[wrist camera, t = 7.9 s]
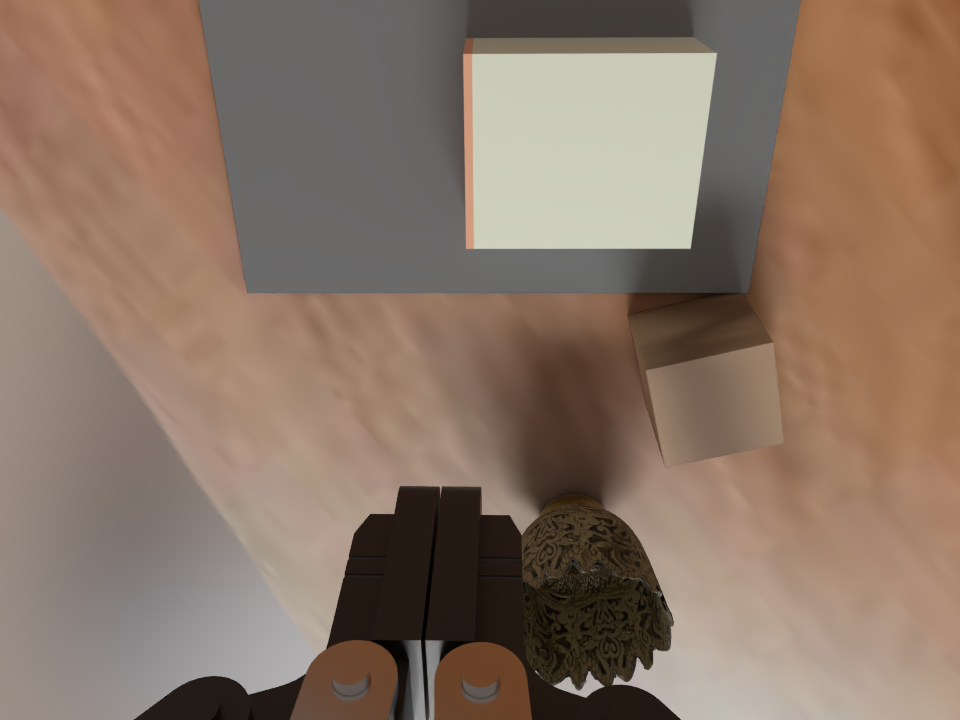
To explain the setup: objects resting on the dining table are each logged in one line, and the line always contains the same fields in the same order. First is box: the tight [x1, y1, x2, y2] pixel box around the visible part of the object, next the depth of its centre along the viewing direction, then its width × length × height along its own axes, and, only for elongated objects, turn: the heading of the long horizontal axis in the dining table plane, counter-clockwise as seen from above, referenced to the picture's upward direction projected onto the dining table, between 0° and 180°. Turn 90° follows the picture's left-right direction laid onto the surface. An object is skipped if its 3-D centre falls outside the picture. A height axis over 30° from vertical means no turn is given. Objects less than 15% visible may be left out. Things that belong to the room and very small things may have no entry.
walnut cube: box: [628, 293, 784, 467], centre depth 35 cm, size 5×5×5 cm
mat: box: [199, 0, 801, 293], centre depth 32 cm, size 22×13×1 cm, turn 90°
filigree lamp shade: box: [522, 493, 674, 691], centre depth 39 cm, size 8×7×8 cm
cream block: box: [463, 37, 717, 249], centre depth 30 cm, size 4×7×8 cm
